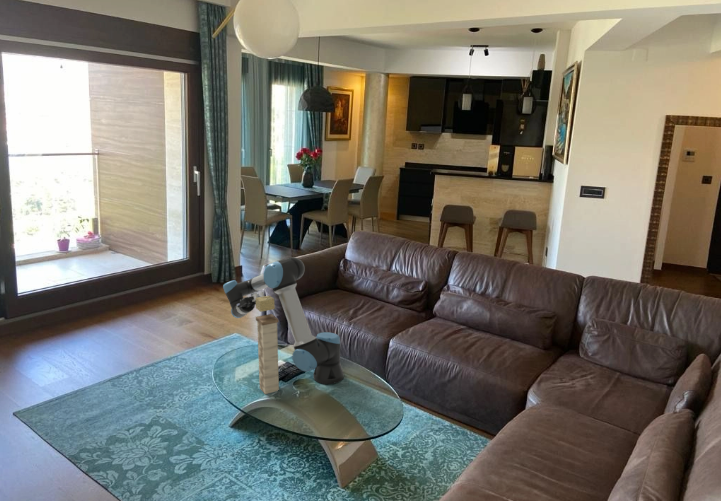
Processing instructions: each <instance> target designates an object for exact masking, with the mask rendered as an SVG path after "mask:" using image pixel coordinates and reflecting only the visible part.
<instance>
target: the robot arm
mask: <svg viewBox="0 0 721 501" xmlns="http://www.w3.org/2000/svg"><path fill="white" fill-rule="evenodd" d="M305 269H306V268H305V264H304V262H303V260H301V259H300V258H297V257H294V256H293V257H287V258H284V259H280V260H277V261H273V262H270V263H269V264H267V265H266V266H265V268H264V271H263V273H262V274H260V275H258V276H257V275H256V276H255V277H252V278H250V279H248V280H245V281H241V282H238V281H236V279H234V280H230V281H228V282H225V283H224V284H223V286H222V288H223V291H224V293H225V295H226V298H227V300H228V303H229V305H230V308H231V309H230V312H231V313H230V314H231V316H233V317H234V318H236V319H241V318H242V317H246V316H247V314H249V313H251V312H253V310H254V309H255V308H256V303H255V302H254V301H255V300H256V298H258V297H257V294H258V295H259V296H260V297H264V296H265V295H264V291H262V290H264V289H266V288H270V289H272V291H273V293H275V294H277V296H278V298H279V300H280V303H281V306H282V309H283V311H284V315H285V318H286V320H287V323H288V326H289V329H290V331H291V334H292V337H293V340H294V344H293V346H292V347H293V349H294V351H292V356H291V357H292V362H293V364H294V365H295V367H296V368H297V369H299V370H300V371H302V372H310V371H312V370H314V371H313V380H314V381H315V382H317V383H318V384H323V385H332V384H333V385H334V384H338V383H339V382H341V381H343V379H344V370H343V368H342V364H341V338H340V336H339V335H338V334H337V333H335V332H334V333H333V332H327V331H326V332H318V333H317V334H316V336H315V335H313V334H312V332H311V329H310V325H309V324H308V320H307V317H306V315H305V312H304V309H303V307H302V304H301V301H300V298H299V295H298V292H297V290H296V288H297V285H298V284H297V283H298V282H297V281H298V280H300V279H301V278H302V277H303V276H304V273H305ZM259 291H261V292H260V293H258V292H259ZM252 293H255V294H254V295H252V296H251V294H252ZM248 295H250V296H248Z"/></svg>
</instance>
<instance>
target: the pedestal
mask: <svg viewBox="0 0 721 501" xmlns="http://www.w3.org/2000/svg"><path fill="white" fill-rule="evenodd" d="M255 321H256V323H257V324H256V325H257V326H256V327H257V328H256V329H257V348H258V349H257V350H258V351H257V352H258V353H257V354H258V377H259V378H258V380H259V390H261V391H262V392H263V394H264V395H267V394H271V393H275V392H279V391H280V383H279V382H280V380H279V376H280V375H279V351H278V349H279V348H278V347H279V345H278V342H279V341H278V323H279V318H278V317H276V316H275V315H274V314H273V313H269V314H262V315H260V316H255ZM278 390H279V391H278Z"/></svg>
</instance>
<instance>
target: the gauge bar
mask: <svg viewBox="0 0 721 501" xmlns="http://www.w3.org/2000/svg"><path fill="white" fill-rule="evenodd" d="M255 293H256V292H255ZM255 293H252V294H250V297H251V296H252V295H254V294H255ZM258 294H259V293H257V297H258V298H256V300H255V301H254V302H255V303H256V305H255V308H256V310H257V311H258V312H261V313H262V312H266V311H272V310H275V308H276V307H275V298H274V297H272V296H271V295H264V297H260V296H259V295H258Z"/></svg>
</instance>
